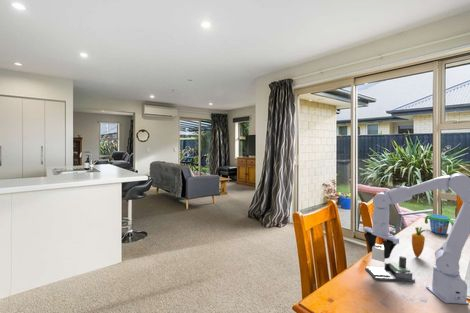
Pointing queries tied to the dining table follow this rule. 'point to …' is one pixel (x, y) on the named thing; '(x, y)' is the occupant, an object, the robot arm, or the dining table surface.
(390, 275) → the press
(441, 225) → the snack cup
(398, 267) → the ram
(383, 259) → the block
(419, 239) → the carrot
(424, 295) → the dining table surface
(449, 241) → the robot arm
